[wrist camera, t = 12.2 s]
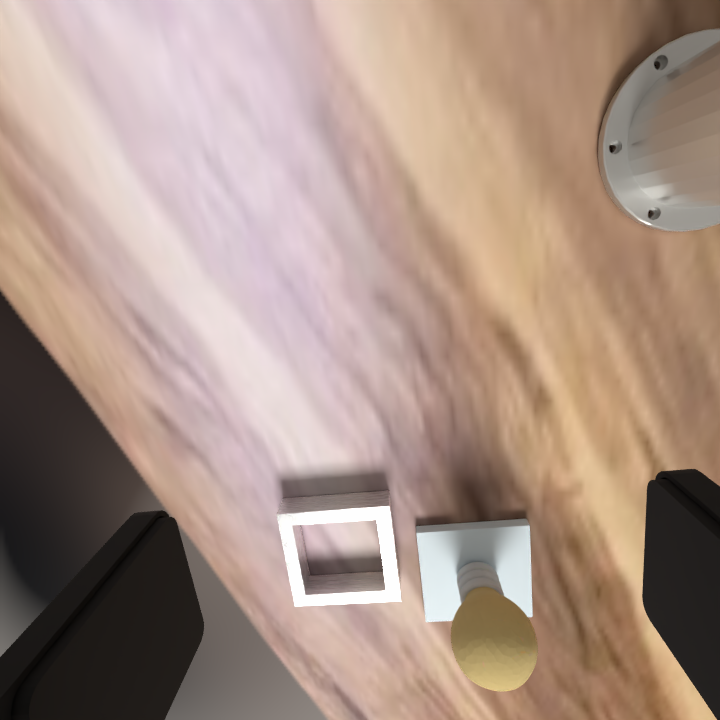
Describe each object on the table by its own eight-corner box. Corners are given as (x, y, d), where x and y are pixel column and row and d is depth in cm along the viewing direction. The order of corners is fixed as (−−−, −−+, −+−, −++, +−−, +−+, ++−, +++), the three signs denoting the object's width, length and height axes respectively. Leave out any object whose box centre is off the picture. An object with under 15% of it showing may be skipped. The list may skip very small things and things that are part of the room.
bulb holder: (389, 490, 40) (389, 506, 38) (400, 580, 43) (400, 601, 40) (282, 498, 41) (276, 514, 39) (300, 586, 44) (294, 606, 41)
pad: (526, 518, 40) (529, 525, 39) (529, 608, 43) (532, 616, 42) (415, 526, 41) (416, 533, 40) (425, 613, 44) (425, 622, 43)
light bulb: (498, 609, 42) (530, 721, 32) (432, 593, 42) (445, 699, 32) (521, 554, 40) (563, 655, 30) (452, 537, 40) (473, 632, 30)
